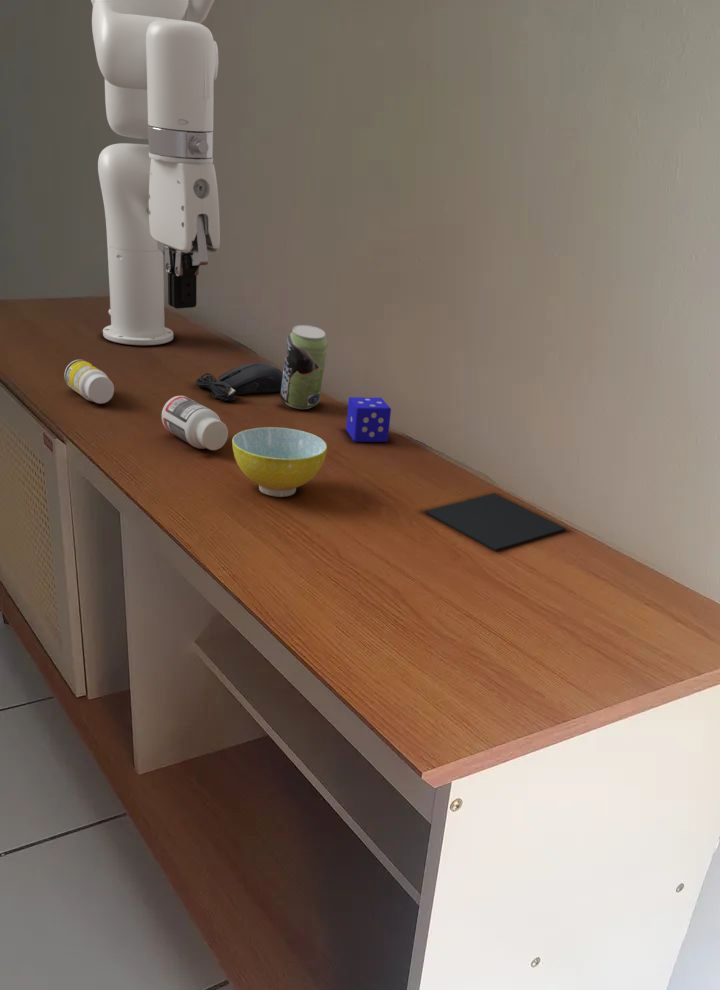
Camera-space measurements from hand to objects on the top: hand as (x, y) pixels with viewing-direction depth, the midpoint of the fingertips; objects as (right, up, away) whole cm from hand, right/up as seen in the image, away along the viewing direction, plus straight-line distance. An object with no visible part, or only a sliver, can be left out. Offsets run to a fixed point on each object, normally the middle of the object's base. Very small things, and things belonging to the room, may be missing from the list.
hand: (182, 306), depth 120 cm
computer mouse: (+5, -3, +30) cm, 31 cm away
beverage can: (+14, -7, +25) cm, 29 cm away
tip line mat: (+39, -29, -7) cm, 49 cm away
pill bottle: (-2, -12, +9) cm, 15 cm away
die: (+24, -14, +16) cm, 31 cm away
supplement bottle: (-20, -3, +21) cm, 29 cm away
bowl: (+13, -25, -5) cm, 28 cm away
